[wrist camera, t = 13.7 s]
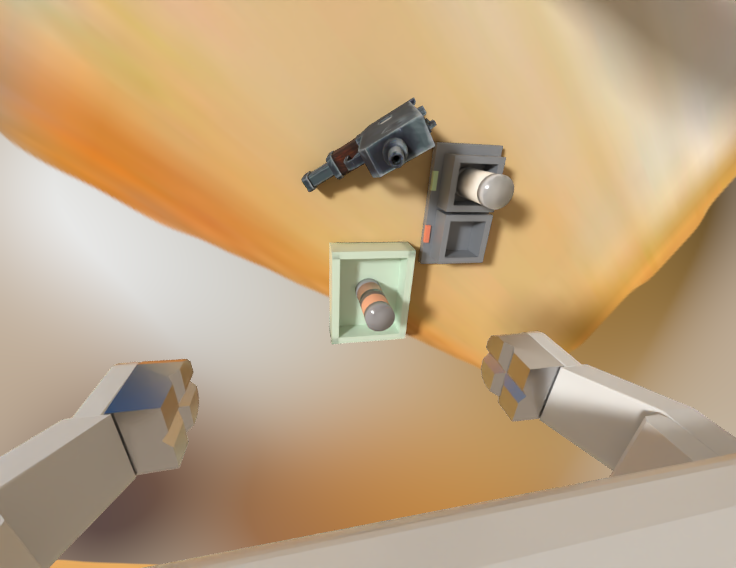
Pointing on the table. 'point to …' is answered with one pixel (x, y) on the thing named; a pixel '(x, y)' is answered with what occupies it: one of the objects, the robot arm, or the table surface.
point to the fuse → (484, 187)
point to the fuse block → (456, 205)
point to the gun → (379, 146)
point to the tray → (360, 262)
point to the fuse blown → (374, 305)
